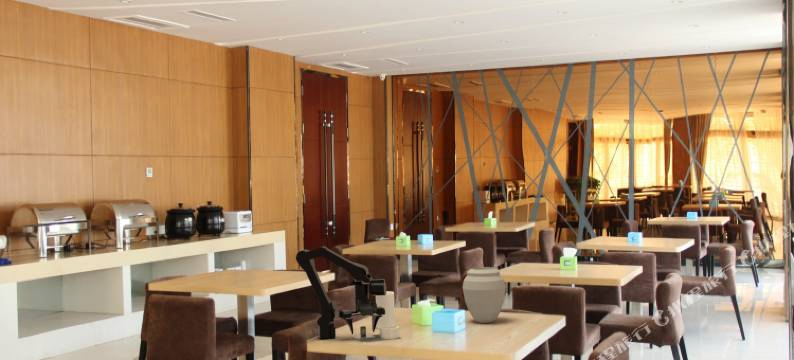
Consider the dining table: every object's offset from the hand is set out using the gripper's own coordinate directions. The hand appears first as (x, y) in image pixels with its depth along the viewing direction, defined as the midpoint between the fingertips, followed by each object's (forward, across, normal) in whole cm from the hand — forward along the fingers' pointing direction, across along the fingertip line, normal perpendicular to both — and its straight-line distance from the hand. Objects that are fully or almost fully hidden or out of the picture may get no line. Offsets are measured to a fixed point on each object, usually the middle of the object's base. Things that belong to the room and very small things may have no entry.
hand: (363, 333), depth 339 cm
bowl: (+2, +10, -6) cm, 12 cm away
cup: (+2, +16, +17) cm, 24 cm away
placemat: (+2, +5, -4) cm, 7 cm away
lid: (+2, 0, 0) cm, 2 cm away
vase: (+2, +61, +9) cm, 62 cm away
